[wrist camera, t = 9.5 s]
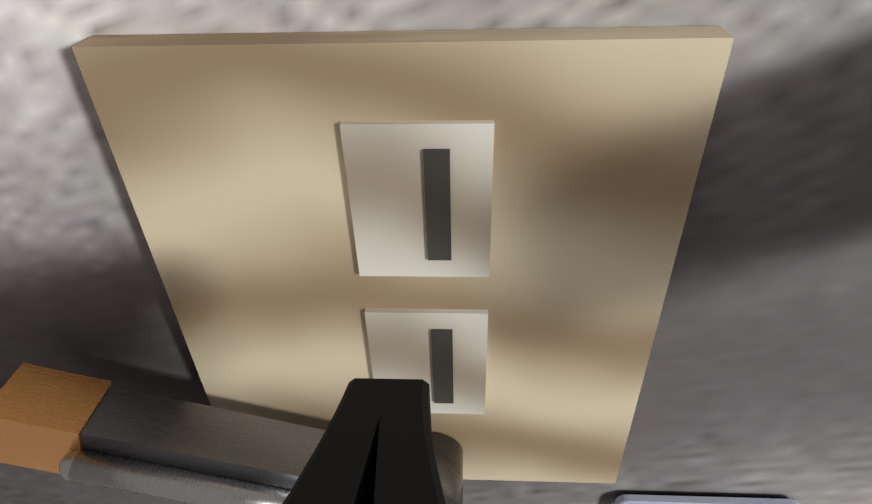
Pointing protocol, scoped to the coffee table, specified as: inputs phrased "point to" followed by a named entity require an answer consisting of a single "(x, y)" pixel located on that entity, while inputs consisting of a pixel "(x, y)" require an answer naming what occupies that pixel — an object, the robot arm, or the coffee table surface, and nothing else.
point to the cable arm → (163, 442)
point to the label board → (420, 218)
